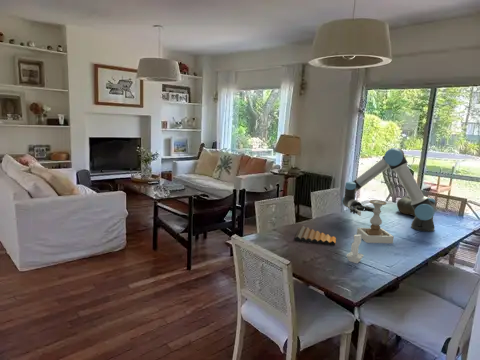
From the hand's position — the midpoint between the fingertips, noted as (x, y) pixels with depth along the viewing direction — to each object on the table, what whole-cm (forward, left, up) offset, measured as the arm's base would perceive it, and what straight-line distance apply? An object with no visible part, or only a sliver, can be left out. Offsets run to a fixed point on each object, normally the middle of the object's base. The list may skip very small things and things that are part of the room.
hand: (369, 213), depth 236 cm
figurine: (+26, +46, -15) cm, 55 cm away
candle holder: (-1, +8, -14) cm, 16 cm away
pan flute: (+37, +7, -15) cm, 41 cm away
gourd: (-61, -57, -15) cm, 85 cm away
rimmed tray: (-1, +8, -15) cm, 17 cm away
